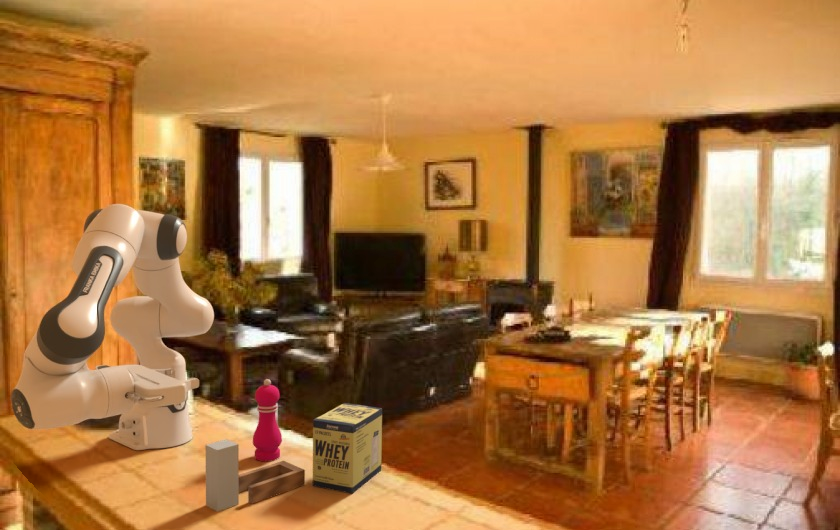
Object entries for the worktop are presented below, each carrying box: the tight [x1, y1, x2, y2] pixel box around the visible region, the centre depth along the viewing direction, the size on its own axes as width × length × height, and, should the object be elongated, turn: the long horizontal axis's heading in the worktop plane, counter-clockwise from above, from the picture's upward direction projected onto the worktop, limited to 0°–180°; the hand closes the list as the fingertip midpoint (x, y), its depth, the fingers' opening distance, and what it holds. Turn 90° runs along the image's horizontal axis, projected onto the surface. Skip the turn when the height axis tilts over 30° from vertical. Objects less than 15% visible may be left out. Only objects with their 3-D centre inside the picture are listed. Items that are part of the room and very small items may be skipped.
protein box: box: [312, 402, 383, 494], centre depth 154 cm, size 10×16×16 cm
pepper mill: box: [252, 378, 283, 462], centre depth 166 cm, size 7×7×20 cm
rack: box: [239, 460, 306, 505], centre depth 147 cm, size 14×8×4 cm, turn 138°
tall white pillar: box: [205, 438, 240, 512], centre depth 139 cm, size 5×4×13 cm
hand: (185, 377), depth 132 cm, fingers open, 8 cm apart
